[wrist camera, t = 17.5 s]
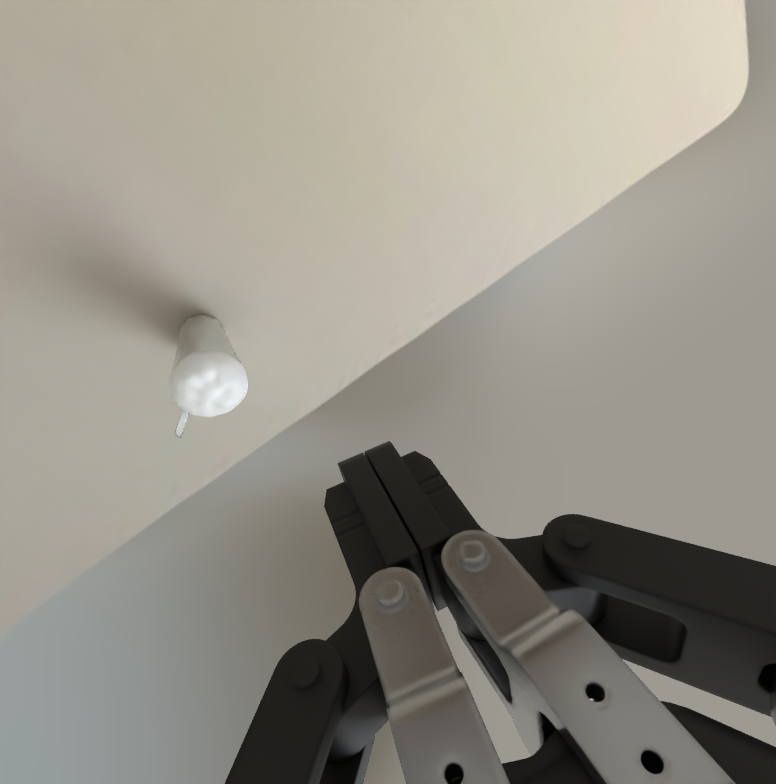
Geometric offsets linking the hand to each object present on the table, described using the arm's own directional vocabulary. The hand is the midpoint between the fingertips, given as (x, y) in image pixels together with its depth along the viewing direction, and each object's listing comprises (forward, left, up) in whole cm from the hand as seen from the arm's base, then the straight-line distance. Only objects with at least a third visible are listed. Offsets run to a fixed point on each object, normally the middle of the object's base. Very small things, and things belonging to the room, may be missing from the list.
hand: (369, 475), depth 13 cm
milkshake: (0, -8, -27) cm, 28 cm away
